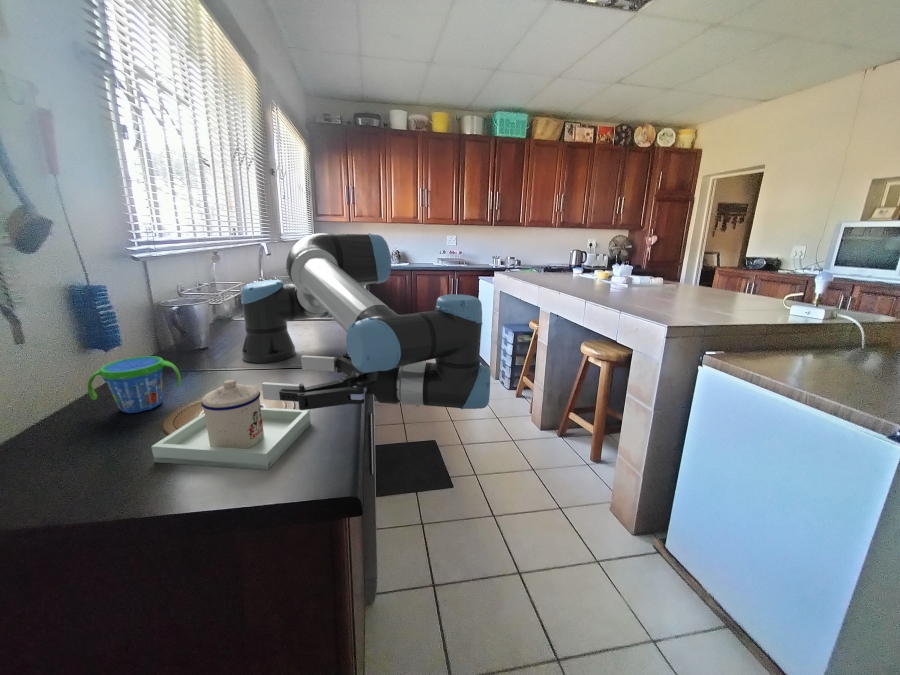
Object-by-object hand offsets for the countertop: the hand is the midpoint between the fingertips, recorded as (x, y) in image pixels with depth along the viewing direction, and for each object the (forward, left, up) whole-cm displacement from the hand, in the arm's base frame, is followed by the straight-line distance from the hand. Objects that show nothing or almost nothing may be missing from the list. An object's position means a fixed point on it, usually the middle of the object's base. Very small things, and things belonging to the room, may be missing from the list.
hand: (284, 375), depth 67 cm
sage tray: (+1, -9, -13) cm, 16 cm away
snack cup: (-10, -39, -13) cm, 43 cm away
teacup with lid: (+1, -9, -12) cm, 16 cm away
